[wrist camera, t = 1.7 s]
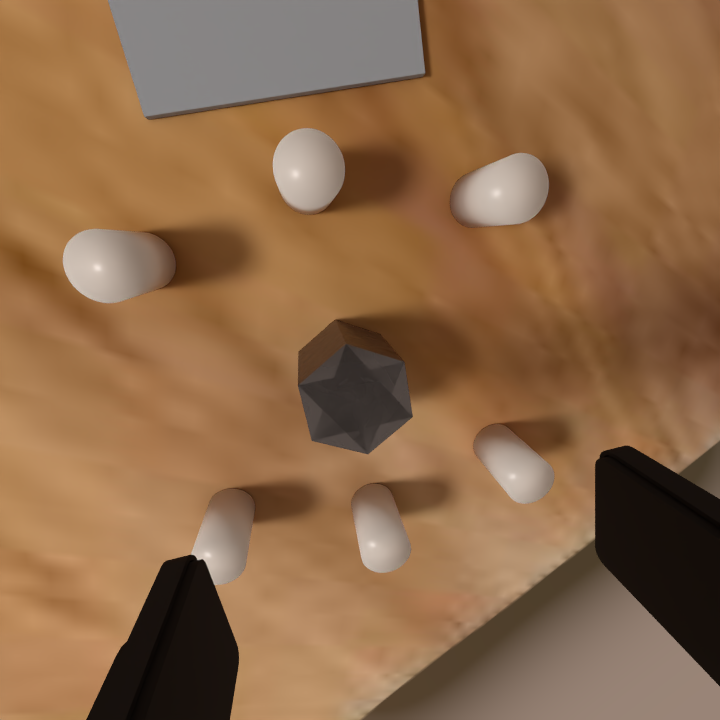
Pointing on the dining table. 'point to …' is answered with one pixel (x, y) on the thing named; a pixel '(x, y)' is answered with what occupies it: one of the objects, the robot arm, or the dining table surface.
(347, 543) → the dining table surface
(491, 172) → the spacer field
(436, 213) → the dining table surface
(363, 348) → the grey faceted polyhedron
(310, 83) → the mat
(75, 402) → the dining table surface
